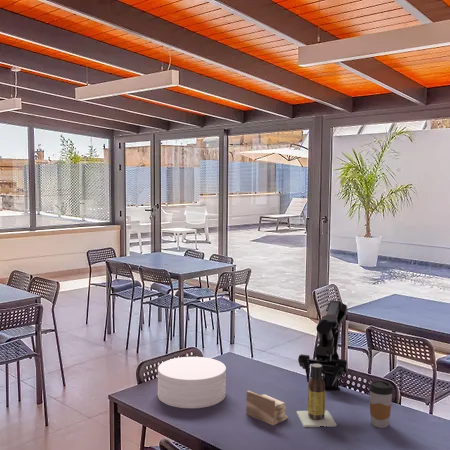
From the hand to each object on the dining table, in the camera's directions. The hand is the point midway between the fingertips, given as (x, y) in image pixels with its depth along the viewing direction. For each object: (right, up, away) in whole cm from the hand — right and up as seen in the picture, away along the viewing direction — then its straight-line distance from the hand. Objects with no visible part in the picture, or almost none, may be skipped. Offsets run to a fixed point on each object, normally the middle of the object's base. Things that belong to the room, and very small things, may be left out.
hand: (319, 383), depth 201 cm
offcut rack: (-20, -11, -3) cm, 24 cm away
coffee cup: (+20, -12, -9) cm, 25 cm away
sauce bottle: (-2, -11, -5) cm, 12 cm away
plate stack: (-50, -10, +17) cm, 54 cm away
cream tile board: (-2, -12, -5) cm, 13 cm away
